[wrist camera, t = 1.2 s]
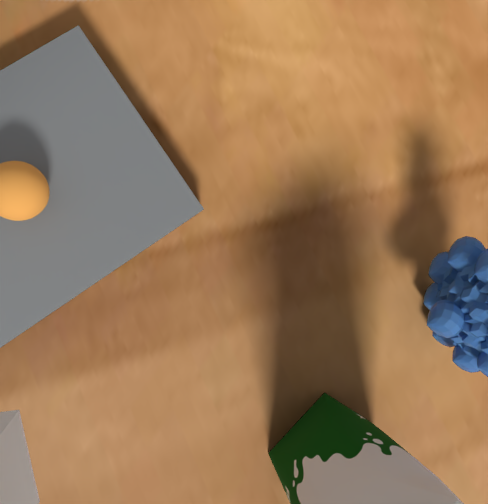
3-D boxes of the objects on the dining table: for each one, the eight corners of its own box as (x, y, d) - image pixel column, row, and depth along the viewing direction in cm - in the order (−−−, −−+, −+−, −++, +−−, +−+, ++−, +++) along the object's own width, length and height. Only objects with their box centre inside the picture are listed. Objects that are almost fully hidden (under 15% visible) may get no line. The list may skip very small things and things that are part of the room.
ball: (18, 232, 33) (-1, 231, 29) (-17, 186, 32) (-41, 178, 28) (66, 201, 33) (54, 196, 29) (32, 155, 33) (16, 143, 29)
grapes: (373, 249, 41) (462, 252, 29) (440, 231, 42) (551, 226, 30) (402, 374, 41) (500, 426, 30) (467, 352, 43) (585, 394, 31)
